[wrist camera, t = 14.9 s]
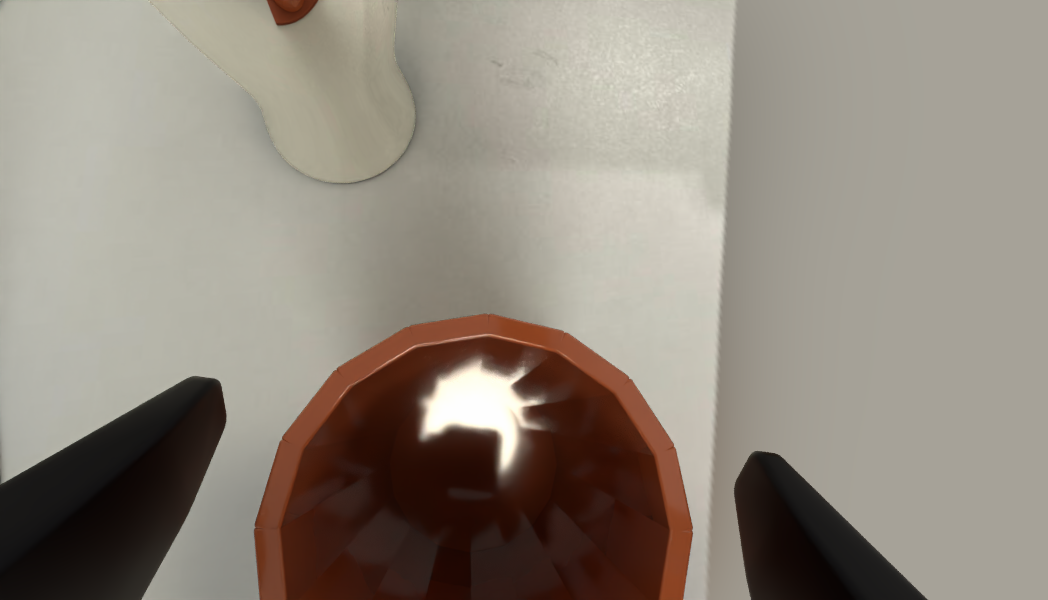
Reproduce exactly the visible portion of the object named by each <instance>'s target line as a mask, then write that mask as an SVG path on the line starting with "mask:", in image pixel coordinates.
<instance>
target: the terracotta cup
mask: <svg viewBox="0 0 1048 600" xmlns="http://www.w3.org/2000/svg"><path fill="white" fill-rule="evenodd" d="M255 527H256V528H255V529H254V539H255V551H256V562H257V574H258V586H259V597H260V600H683V596H684V589H685V583H686V576H687V569H688V562H689V556H690V549H691V542H692V536H693V532H692V529H693V526H692V522H691V517H690V512H689V508H688V503H687V498H686V494H685V489H684V484H683V480H682V475H681V471H680V466H679V461H678V457H677V452H676V449H675V447H674V444H673V442H672V441H671V439H670V437H669V436H668V434H667V433H666V431H665V430H664V428H663V427H662V425H661V424H660V422H659V421H658V419H657V417H656V416H655V414H654V413H653V411H652V410H651V408H650V407H649V405H648V404H647V402H646V401H645V399H644V398H643V396H642V394H641V393H640V391H639V390H638V388H637V387H636V385H635V384H634V382H633V381H632V380H631V379H629V376H628V375H626V374H625V373H624V372H622V371H621V370H619V369H618V368H616V367H615V366H614V365H612V364H611V363H609V362H608V361H607V360H605V359H604V358H602V357H601V356H600V355H598V354H597V353H595V352H594V351H593V350H591V349H590V348H588V347H587V346H586V345H584V344H583V343H581V342H580V341H578V340H577V339H576V338H574V337H573V336H571V335H570V334H569V333H564V331H562V330H558V329H554V328H549V327H545V326H541V325H537V324H532V323H528V322H524V321H520V320H516V319H511V318H507V317H503V316H499V315H494V314H489V315H488V314H479V315H473V316H466V317H460V318H453V319H447V320H441V321H434V322H428V323H421V324H415V325H411V326H409V327H405V328H403V329H402V330H400V331H398V332H397V333H395V334H393V335H392V336H390V337H388V338H387V339H385V340H383V341H381V342H380V343H378V344H376V345H375V346H373V347H371V348H370V349H368V350H366V351H365V352H363V353H361V354H359V355H358V356H356V357H354V358H353V359H351V360H349V361H348V362H346V363H344V364H343V365H341V366H339V367H338V368H337V370H335V371H333V373H332V374H331V375H330V376H329V378H328V379H327V380H326V381H325V383H324V384H323V385H322V387H321V388H320V389H319V390H318V392H317V393H316V394H315V395H314V397H313V398H312V399H311V401H310V402H309V403H308V404H307V406H306V407H305V408H304V409H303V411H302V412H301V413H300V415H299V416H298V417H297V418H296V420H295V421H294V422H293V424H292V425H291V426H290V427H289V429H288V430H287V431H286V432H285V434H284V435H283V437H282V440H281V441H280V442H279V446H278V449H277V452H276V455H275V459H274V462H273V465H272V469H271V472H270V475H269V478H268V482H267V485H266V488H265V492H264V495H263V498H262V501H261V505H260V508H259V511H258V515H257V518H256V521H255Z"/></svg>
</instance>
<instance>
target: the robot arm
mask: <svg viewBox="0 0 1048 600" xmlns="http://www.w3.org/2000/svg"><path fill="white" fill-rule="evenodd" d="M225 424H226V409H225V404H224V398H223V392H222V387H221V383H220V382H219V381H218V380H217V379H214V378H206V377H198V376H192V377H189V378H187V379H185V380H183V381H182V382H180V383H178V384H176V385H175V386H173V387H171V388H169V389H168V390H166V391H164V392H162V393H161V394H159V395H157V396H155V397H154V398H152V399H150V400H148V401H147V402H145V403H143V404H141V405H140V406H138V407H136V408H134V409H133V410H131V411H129V412H127V413H126V414H124V415H122V416H120V417H118V418H117V419H115V420H113V421H111V422H110V423H108V424H106V425H104V426H103V427H101V428H99V429H97V430H96V431H94V432H92V433H90V434H89V435H87V436H85V437H83V438H82V439H80V440H78V441H76V442H75V443H73V444H71V445H69V446H68V447H66V448H64V449H62V450H61V451H59V452H57V453H55V454H54V455H52V456H50V457H48V458H47V459H45V460H43V461H41V462H40V463H38V464H36V465H34V466H33V467H31V468H29V469H27V470H26V471H24V472H22V473H20V474H19V475H17V476H15V477H13V478H12V479H10V480H8V481H6V482H5V483H3V484H1V485H0V600H141V599H142V597H143V595H144V593H145V592H146V590H147V588H148V586H149V584H150V583H151V581H152V579H153V577H154V576H155V574H156V572H157V570H158V568H159V567H160V565H161V563H162V561H163V559H164V558H165V556H166V554H167V552H168V550H169V549H170V547H171V545H172V543H173V541H174V540H175V538H176V536H177V534H178V532H179V531H180V529H181V527H182V525H183V523H184V521H185V519H186V517H187V515H188V513H189V511H190V509H191V507H192V504H193V502H194V500H195V498H196V495H197V493H198V490H199V488H200V486H201V483H202V481H203V478H204V476H205V474H206V471H207V469H208V467H209V464H210V462H211V459H212V457H213V455H214V452H215V450H216V447H217V445H218V443H219V440H220V438H221V435H222V433H223V431H224V428H225ZM734 497H735V503H736V511H737V518H738V525H739V532H740V539H741V546H742V552H743V560H744V567H745V573H746V579H747V583H748V588H749V592H750V597H751V600H927V599H926V598H925V597H924V596H923V595H922V594H921V593H920V592H919V591H918V590H917V589H916V588H915V587H914V586H913V585H912V584H911V583H910V582H909V581H908V580H907V579H906V578H905V577H904V576H903V575H902V574H901V573H900V572H899V571H897V569H895V567H894V566H893V565H891V563H889V562H888V561H887V560H886V559H885V558H884V557H883V556H882V555H881V554H880V553H879V552H878V551H877V550H876V549H875V548H874V547H873V546H872V545H871V544H870V543H869V542H868V541H867V540H866V539H865V538H864V537H863V536H862V535H861V534H860V533H859V532H858V531H857V530H856V529H855V528H854V527H853V526H852V525H851V524H850V523H849V522H848V521H846V520H845V518H843V517H842V516H841V515H840V514H839V513H838V512H837V511H836V510H835V509H834V508H833V507H832V506H831V505H830V504H829V503H828V502H827V501H826V500H825V499H824V498H823V497H822V496H821V495H820V494H819V493H818V492H817V491H816V490H815V489H814V488H813V487H812V486H811V485H810V484H809V483H808V482H807V481H806V480H805V479H804V478H803V477H802V476H800V475H799V474H798V473H797V472H796V471H795V470H794V469H793V468H792V467H791V466H790V465H789V464H788V463H787V462H786V461H785V460H784V459H783V458H782V457H781V456H780V455H778V454H775V453H769V452H761V451H755V452H753V453H752V454H751V455H750V456H749V458H748V460H747V462H746V463H745V465H744V467H743V469H742V471H741V472H740V474H739V476H738V478H737V480H736V482H735V488H734Z"/></svg>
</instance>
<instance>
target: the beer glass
mask: <svg viewBox="0 0 1048 600" xmlns="http://www.w3.org/2000/svg"><path fill="white" fill-rule="evenodd" d="M148 1H149V2H150V3H151V4H152V5H153V7H154V8H155V9H156V10H157V11H158V12H159V13H160V14H161V15H162V16H163V17H164V18H165V19H167V20H168V21H169V22H170V23H171V24H172V25H173V26H174V27H175V28H176V29H177V30H178V31H179V32H180V33H181V34H182V35H183V36H184V37H185V38H186V39H187V40H188V41H189V42H190V43H191V44H192V45H193V46H194V47H195V48H197V49H198V50H199V51H200V52H201V53H202V54H203V55H205V56H206V57H207V58H208V59H209V60H210V61H211V62H213V63H214V64H215V65H216V66H217V67H218V68H219V69H221V70H222V71H223V72H224V73H225V74H226V75H228V76H229V77H230V78H231V79H232V80H234V81H235V82H236V83H237V84H238V85H239V86H241V87H242V88H243V89H244V90H245V91H246V92H247V93H248V94H249V95H250V96H251V97H252V98H253V99H254V100H255V101H256V102H257V104H258V105H259V107H260V109H261V112H262V115H263V118H264V122H265V125H266V128H267V131H268V134H269V136H270V139H271V141H272V143H273V144H274V146H275V148H276V149H277V151H278V152H279V154H280V155H281V156H282V157H283V159H284V160H285V161H286V162H287V163H288V164H290V165H291V166H292V167H293V168H295V169H296V170H298V171H299V172H301V173H303V174H305V175H307V176H309V177H311V178H314V179H317V180H320V181H324V182H330V183H353V182H359V181H363V180H366V179H369V178H372V177H374V176H376V175H378V174H380V173H382V172H383V171H385V170H387V169H388V168H389V167H391V166H392V165H393V164H394V163H395V162H396V161H397V160H398V159H399V158H400V157H401V156H402V154H403V153H404V151H405V150H406V148H407V147H408V145H409V143H410V140H411V138H412V135H413V132H414V127H415V120H416V111H415V104H414V100H413V96H412V93H411V90H410V88H409V86H408V83H407V81H406V80H405V78H404V76H403V74H402V72H401V70H400V68H399V67H398V65H397V62H396V59H395V52H394V44H395V28H396V16H397V1H398V0H148Z"/></svg>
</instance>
